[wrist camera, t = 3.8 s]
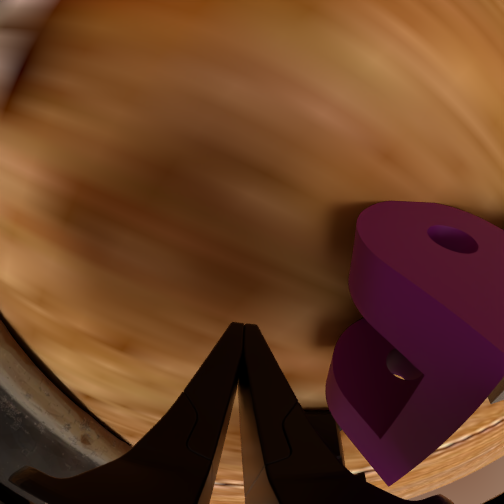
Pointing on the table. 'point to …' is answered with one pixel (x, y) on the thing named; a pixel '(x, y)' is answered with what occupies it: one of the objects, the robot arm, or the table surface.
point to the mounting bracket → (418, 331)
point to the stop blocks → (497, 392)
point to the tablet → (45, 424)
